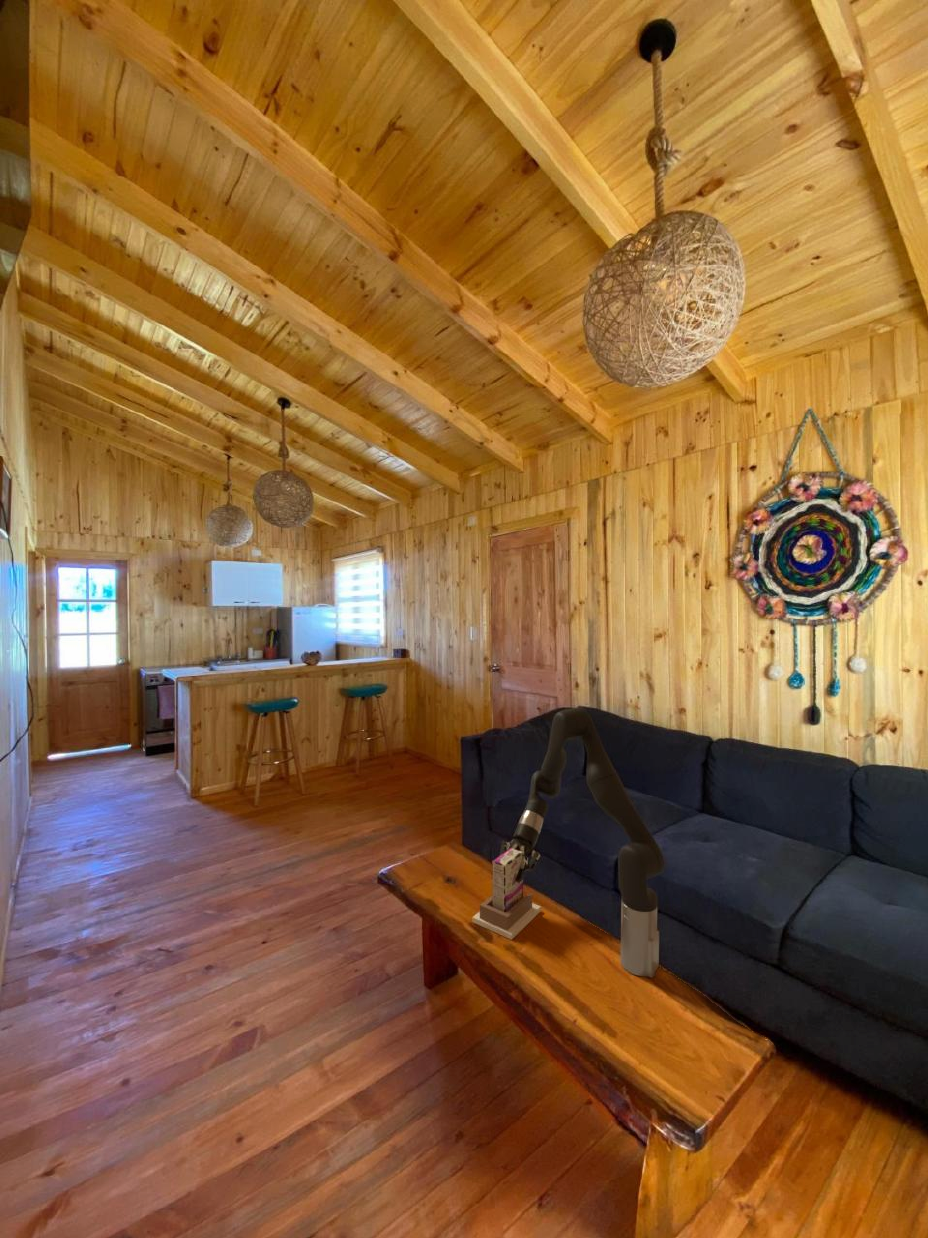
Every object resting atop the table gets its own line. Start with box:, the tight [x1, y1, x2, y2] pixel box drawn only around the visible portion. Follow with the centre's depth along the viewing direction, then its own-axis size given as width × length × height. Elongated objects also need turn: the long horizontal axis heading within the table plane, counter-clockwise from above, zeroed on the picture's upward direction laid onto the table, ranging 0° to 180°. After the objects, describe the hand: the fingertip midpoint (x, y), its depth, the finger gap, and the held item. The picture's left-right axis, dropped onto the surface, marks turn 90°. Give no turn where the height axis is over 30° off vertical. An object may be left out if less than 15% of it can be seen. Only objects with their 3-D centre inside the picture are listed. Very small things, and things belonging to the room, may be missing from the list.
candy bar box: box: [491, 847, 524, 913], centre depth 161 cm, size 11×5×16 cm, turn 143°
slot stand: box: [471, 893, 542, 941], centre depth 161 cm, size 14×18×6 cm
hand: (509, 878), depth 162 cm, fingers closed on candy bar box, 5 cm apart
